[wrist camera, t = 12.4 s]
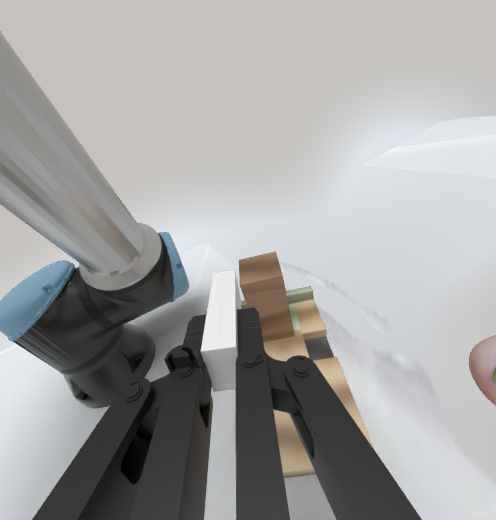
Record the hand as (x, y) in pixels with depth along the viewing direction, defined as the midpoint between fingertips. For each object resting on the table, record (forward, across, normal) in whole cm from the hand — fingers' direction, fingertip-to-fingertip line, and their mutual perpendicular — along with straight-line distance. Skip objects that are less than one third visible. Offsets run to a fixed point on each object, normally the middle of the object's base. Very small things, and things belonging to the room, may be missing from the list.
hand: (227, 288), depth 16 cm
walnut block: (+18, +5, -21) cm, 28 cm away
